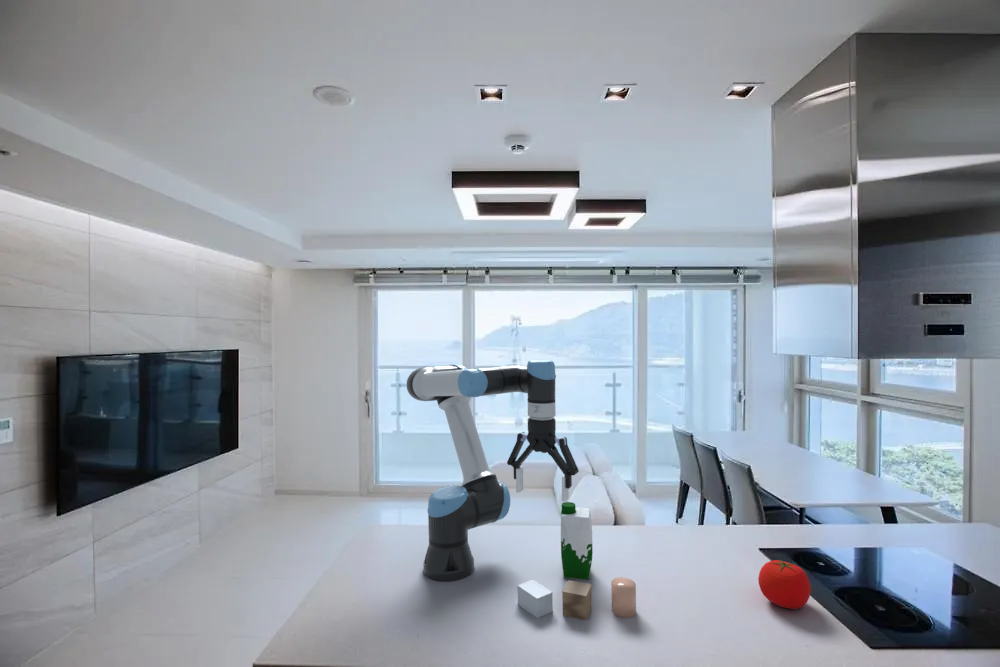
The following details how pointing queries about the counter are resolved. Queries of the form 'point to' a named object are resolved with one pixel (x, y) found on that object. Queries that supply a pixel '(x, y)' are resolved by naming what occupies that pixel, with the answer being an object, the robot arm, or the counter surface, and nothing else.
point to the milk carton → (576, 541)
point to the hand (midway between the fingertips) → (541, 495)
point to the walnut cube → (577, 599)
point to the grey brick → (535, 598)
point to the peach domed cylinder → (623, 597)
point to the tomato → (784, 584)
